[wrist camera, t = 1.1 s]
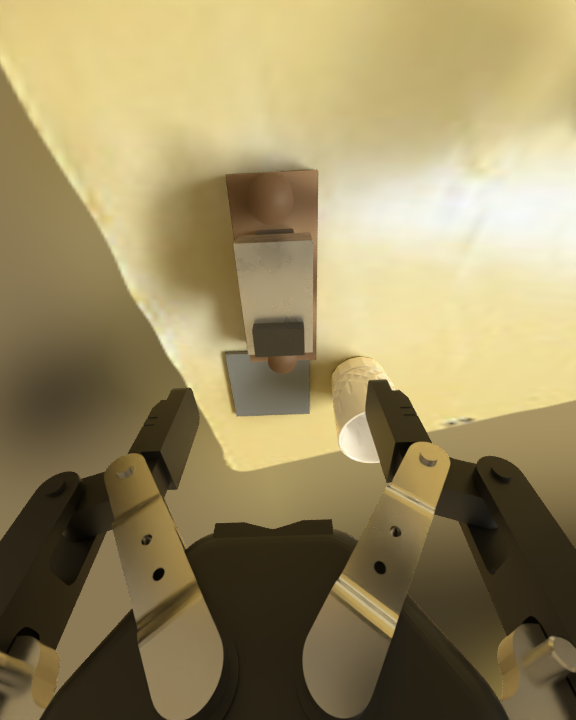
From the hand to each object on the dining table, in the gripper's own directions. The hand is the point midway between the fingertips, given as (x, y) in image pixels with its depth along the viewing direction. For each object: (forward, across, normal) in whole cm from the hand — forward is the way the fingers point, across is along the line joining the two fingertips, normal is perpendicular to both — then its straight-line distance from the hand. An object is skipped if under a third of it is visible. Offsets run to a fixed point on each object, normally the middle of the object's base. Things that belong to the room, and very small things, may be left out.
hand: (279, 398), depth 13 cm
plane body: (+20, 0, 0) cm, 20 cm away
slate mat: (+20, +3, +14) cm, 25 cm away
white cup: (+20, -9, +14) cm, 26 cm away
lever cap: (+14, 0, 0) cm, 14 cm away
